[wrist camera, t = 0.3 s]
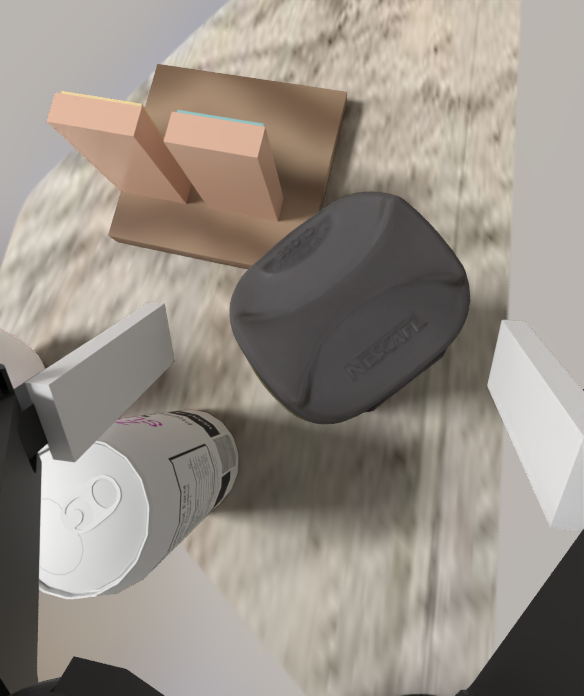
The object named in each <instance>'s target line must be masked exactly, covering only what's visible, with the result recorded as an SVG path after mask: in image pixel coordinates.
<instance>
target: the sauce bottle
mask: <svg viewBox="0 0 584 696" xmlns="http://www.w3.org/2000/svg"><path fill="white" fill-rule="evenodd" d="M0 364H3V365H5V368H6V370H7V373H8V376H9V378H10V381H11V383H12V386H13V389H15V388H16V387H18V386H19V385H21V384H22V383H24V382H25V381H27V380H28V379H30V378H32V377H33V376H35V375H36V374H38V373H39V372H42V370H44V369H45V367H44V365H43V362H42V361H41V359H40V357H39V356H38V355H37V354H36V352H35V351H34V350H33V349H32V348H31V347H30V346H29V345H27V344H26V343H25V342H23V341H22V340H21V339H19V338H18V337H16V336H14V335H13V334H10V333H8V332H6V331H4V330H2V329H0Z"/></svg>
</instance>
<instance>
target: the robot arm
mask: <svg viewBox="0 0 584 696" xmlns="http://www.w3.org/2000/svg"><path fill="white" fill-rule="evenodd" d="M174 362H175V360H174V355H173V349H172V343H171V337H170V332H169V326H168V320H167V314H166V308H165V303H147V304H145V305H143V306H142V307H140V308H139V309H137V310H136V311H134V312H133V313H131V314H130V315H128V316H127V317H125V318H123V319H122V320H120V321H119V322H117V323H116V324H114V325H113V326H111V327H110V328H108V329H107V330H105V331H103V332H102V333H100V334H99V335H97V336H96V337H94V338H93V339H91V340H90V341H88V342H86V343H85V344H83V345H82V346H80V347H79V348H77V349H76V350H74V351H73V352H71V353H70V354H68V355H66V356H65V357H62V358H61V359H59V360H58V361H56V362H55V363H53V364H52V365H51V366H49V367H47V368H45V369H44V370H42V372H39V373H38V374H36V375H35V376H33V377H32V378H30V379H28V380H27V381H25V382H24V383H22V384H21V385H19V386H18V387H16V388H15V389H13V386H12V383H11V381H10V378H9V376H8V373H7V370H6V368H5V365H3V364H0V696H164V695H163V694H161V693H160V692H158V691H157V690H155V689H154V688H153V687H151V686H150V685H148V684H147V683H146V682H144V681H143V680H141V679H140V678H138V677H137V676H136V675H134V674H133V673H131V672H130V671H128V670H127V669H124V668H120V667H115V666H111V665H107V664H103V663H99V662H95V661H90V660H87V659H82V658H78V657H73V658H72V660H71V662H70V664H69V665H68V667H67V669H66V670H65V672H64V673H63V675H62V677H59V678H55V679H51V680H47V681H42V682H39V683H38V678H37V641H38V600H39V599H38V598H39V559H40V518H41V477H42V461H41V458H40V456H39V453H38V452H39V451H40V450H41V449H42V448H43V447H45V446H46V445H47V444H48V447H49V449H50V452H51V455H52V458H53V460H60V461H67V462H76V461H77V460H78V459H79V458H80V457H81V456H82V455H83V454H84V453H85V452H86V451H87V450H88V449H89V448H90V447H91V446H92V445H93V444H94V443H95V442H96V441H97V440H98V439H99V438H100V437H101V436H102V435H103V434H104V433H105V432H106V431H107V430H108V429H109V428H110V427H111V426H112V425H113V424H114V422H115V421H116V420H117V419H118V418H119V417H120V416H121V415H122V414H123V413H124V412H125V411H126V410H127V409H128V408H129V407H130V406H131V405H132V404H133V403H134V402H135V401H136V400H137V399H138V398H139V397H140V396H141V395H142V394H143V393H144V392H145V391H146V390H147V389H148V388H149V387H150V386H151V385H152V384H153V383H154V382H155V381H156V380H157V379H158V378H159V377H160V376H161V375H162V374H163V373H164V372H165V371H166V370H167V369H168V368H169V367H170V366H171V365H172V364H173V363H174ZM487 386H488V389H489V391H490V393H491V395H492V398H493V400H494V402H495V404H496V407H497V409H498V411H499V413H500V416H501V418H502V420H503V422H504V425H505V427H506V429H507V431H508V434H509V436H510V438H511V440H512V443H513V445H514V447H515V449H516V451H517V454H518V456H519V458H520V461H521V463H522V465H523V467H524V470H525V472H526V474H527V476H528V479H529V481H530V483H531V485H532V488H533V490H534V492H535V494H536V497H537V499H538V501H539V504H540V506H541V508H542V510H543V512H544V515H545V517H546V519H547V522H548V523H549V526H550V528H556V529H563V530H570V531H578V532H581V533H580V535H579V536H578V538H577V539H576V540H575V542H574V543H573V544H572V546H571V547H570V549H569V550H568V551H567V553H566V554H565V556H564V557H563V558H562V560H561V561H560V562H559V564H558V565H557V567H556V568H555V569H554V571H553V572H552V574H551V575H550V577H549V578H548V579H547V581H546V582H545V583H544V585H543V586H542V588H541V589H540V591H539V592H538V593H537V595H536V596H535V597H534V599H533V600H532V601H531V603H530V604H529V606H528V607H527V609H526V610H525V611H524V613H523V614H522V616H521V617H520V618H519V620H518V621H517V622H516V624H515V625H514V627H513V628H512V629H511V631H510V632H509V634H508V635H507V636H506V638H505V639H504V640H503V642H502V643H501V645H500V646H499V647H498V649H497V650H496V652H495V653H494V654H493V656H492V657H491V659H490V660H489V661H488V663H487V664H486V666H485V667H484V668H483V670H482V671H481V672H480V674H479V675H478V677H477V678H476V679H475V681H474V682H473V683H472V685H471V686H470V687H469V688H468V689H467V690H460V691H459V692H458V693H457V694H456V695H455V696H584V389H582V388H581V387H580V386H579V385H578V384H577V382H576V381H575V380H574V379H573V378H572V376H571V375H570V374H569V373H568V372H567V370H566V369H565V368H564V367H563V366H562V364H561V363H560V362H559V361H558V360H557V358H556V357H555V356H554V355H553V354H552V353H551V351H550V350H549V349H548V348H547V346H546V345H545V344H544V343H543V342H542V340H541V339H540V338H539V337H538V336H537V334H536V333H535V332H534V331H533V330H532V328H531V327H530V326H529V325H528V324H527V323H526V321H515V320H502V322H501V326H500V331H499V335H498V340H497V344H496V349H495V353H494V358H493V362H492V367H491V371H490V376H489V380H488V385H487Z"/></svg>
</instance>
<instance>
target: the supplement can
mask: <svg viewBox="0 0 584 696" xmlns="http://www.w3.org/2000/svg"><path fill="white" fill-rule="evenodd" d="M38 453H39V456H40V458H41V461H42V477H41V518H40V559H39V589H40V590H41V591H42V592H44V593H47V594H51V595H54V596H58V597H61V598H65V599H69V600H70V599H78V598H86V597H95V596H101V595H110V594H117V593H119V592H121V591H122V590H125V589H127V588H128V587H130V586H132V585H134V584H136V583H137V582H139V581H141V580H143V579H144V578H145V577H146V576H147V575H148V574H149V573H150V572H151V571H152V570H153V569H154V568H155V567H156V566H157V565H158V564H159V563H160V562H161V561H162V560H163V559H164V558H165V557H166V556H167V555H168V554H169V553H170V552H171V551H172V550H173V549H174V548H175V547H176V546H177V545H178V544H179V543H180V542H181V541H182V540H183V539H184V538H185V537H186V536H187V535H188V534H189V533H190V532H192V531H193V530H194V529H195V528H196V527H197V526H198V525H199V524H200V523H201V522H202V521H203V520H204V519H205V518H206V517H207V516H208V515H209V514H210V513H211V512H212V511H213V510H214V509H215V508H216V507H217V506H218V505H219V504H220V503H221V501H222V500H223V499H224V498H225V497H226V496H227V494H228V493H229V492H230V491H231V489H232V487H233V484H234V482H235V479H236V476H237V474H238V455H239V454H238V451H237V448H236V445H235V441H234V438H233V436H232V435H231V433H230V432H229V431H228V429H227V428H226V427H225V425H224V424H223V423H222V422H221V421H219V420H218V419H216V418H215V417H213V416H212V415H210V414H208V413H205V412H201V411H196V410H191V409H190V410H182V411H174V412H166V413H159V414H151V415H143V416H135V417H127V418H119V419H117V420H116V421H115V422H114V424H113V425H112V426H111V427H110V428H109V429H108V430H107V431H106V432H105V433H104V434H103V435H102V436H101V437H100V438H99V439H98V440H97V441H96V442H95V443H94V444H93V445H92V446H91V447H90V448H89V449H88V450H87V451H86V452H85V453H84V454H83V455H82V456H81V457H80V458H79V459H78V460H77V461H76V462H67V461H60V460H53V458H52V455H51V452H50V449H49V447H48V444H47V445H46V446H45V447H43V448H42V449H41V450H40V451H39V452H38Z"/></svg>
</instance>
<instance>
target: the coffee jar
mask: <svg viewBox="0 0 584 696" xmlns="http://www.w3.org/2000/svg"><path fill="white" fill-rule="evenodd" d="M469 305H470V290H469V283H468V279H467V275H466V272H465V269H464V267H463V265H462V264H461V262H460V261H459V259H458V258H457V256H456V255H455V253H454V252H453V250H452V249H451V248H450V247H449V245H448V244H447V243H446V242H445V240H444V239H443V238H442V237H441V236H440V234H439V233H438V232H437V231H436V230H435V229H434V228H433V227H432V225H431V224H430V223H429V222H428V221H427V220H426V219H425V218H424V217H423V216H422V215H421V214H420V213H419V212H418V211H417V210H415V209H414V208H413V207H412V206H411V205H410V204H409V203H407V202H406V201H405V200H404V199H402V198H400V197H398V196H394V195H390V194H386V193H382V192H362V193H355V194H352V195H349V196H345V197H343V198H341V199H338V200H336V201H334V202H333V203H331V204H329V205H328V206H326V207H325V208H323V209H322V210H321V211H319V212H318V213H316V214H315V215H313V216H312V217H310V218H309V219H308V220H306V221H305V222H304V223H302V224H301V225H299V226H298V227H297V228H295V229H294V230H293V231H291V232H290V233H289V234H287V235H286V236H285V237H284V238H283V239H281V240H280V241H279V242H278V243H277V244H276V245H274V246H273V247H272V248H271V249H270V250H269V251H268V252H266V253H265V254H264V255H263V256H262V257H261V258H260V259H259V260H258V261H257V262H255V263H254V264H253V265H252V266H251V267H250V268H249V269H248V270H247V271H246V273H245V274H244V275H243V276H242V277H241V279H240V280H239V282H238V284H237V286H236V288H235V290H234V293H233V295H232V298H231V302H230V323H231V327H232V331H233V334H234V336H235V339H236V341H237V343H238V344H239V346H240V348H241V350H242V351H243V353H244V355H245V356H246V358H247V360H248V362H249V364H250V365H251V367H252V369H253V371H254V372H255V374H256V375H257V377H258V378H259V380H260V381H261V383H262V384H263V385H264V387H265V388H266V389H267V390H268V391H269V393H270V394H271V395H272V396H273V397H274V398H275V399H276V400H277V401H278V402H279V403H280V404H281V405H282V406H283V407H284V408H285V409H286V410H287V411H289V412H290V413H292V414H293V415H294V416H296V417H298V418H300V419H303V420H305V421H308V422H312V423H317V424H335V423H340V422H343V421H346V420H349V419H351V418H353V417H356V416H358V415H360V414H362V413H363V412H370V411H374V410H375V409H376V408H377V407H379V406H380V405H381V404H382V403H384V402H385V401H386V400H387V399H388V398H390V397H391V396H392V395H394V394H395V393H396V392H398V391H399V390H400V389H402V388H403V387H404V386H405V385H407V384H408V383H409V382H410V381H412V380H413V379H414V378H415V377H417V376H418V375H419V374H421V373H422V372H423V371H425V370H426V369H428V368H429V367H430V366H431V365H433V364H434V363H435V362H437V361H438V360H439V359H441V358H442V357H443V355H444V353H445V351H446V349H447V347H448V346H449V345H450V344H451V343H452V342H453V341H454V340H455V338H456V337H457V335H458V334H459V333H460V331H461V329H462V327H463V325H464V323H465V320H466V318H467V315H468V311H469Z"/></svg>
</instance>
